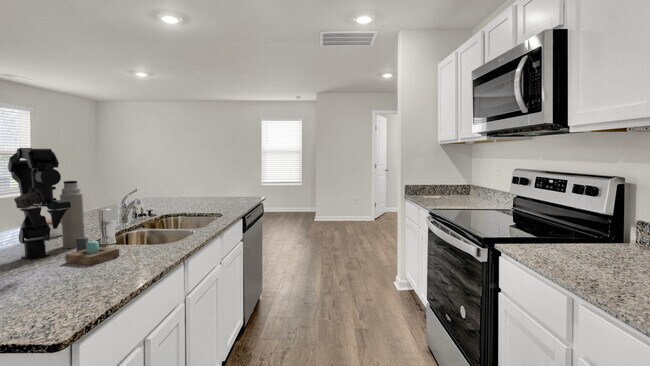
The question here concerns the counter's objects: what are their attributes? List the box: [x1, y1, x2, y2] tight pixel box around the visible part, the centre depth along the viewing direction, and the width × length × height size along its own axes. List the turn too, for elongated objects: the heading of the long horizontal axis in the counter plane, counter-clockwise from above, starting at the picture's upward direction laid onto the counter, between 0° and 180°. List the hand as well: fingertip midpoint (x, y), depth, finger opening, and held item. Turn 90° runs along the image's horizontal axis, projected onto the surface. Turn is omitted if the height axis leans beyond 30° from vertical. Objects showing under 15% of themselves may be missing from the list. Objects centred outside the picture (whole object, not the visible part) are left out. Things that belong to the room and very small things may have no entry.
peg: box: [86, 240, 100, 254], centre depth 141 cm, size 4×4×6 cm
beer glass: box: [97, 207, 117, 245], centre depth 168 cm, size 7×7×15 cm
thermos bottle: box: [59, 180, 86, 249], centre depth 162 cm, size 8×8×28 cm
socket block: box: [65, 246, 120, 266], centre depth 141 cm, size 12×12×3 cm
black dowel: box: [75, 236, 89, 252], centre depth 150 cm, size 4×4×6 cm
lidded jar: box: [46, 218, 62, 238], centre depth 183 cm, size 11×11×9 cm
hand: (45, 228), depth 135 cm, fingers open, 9 cm apart
